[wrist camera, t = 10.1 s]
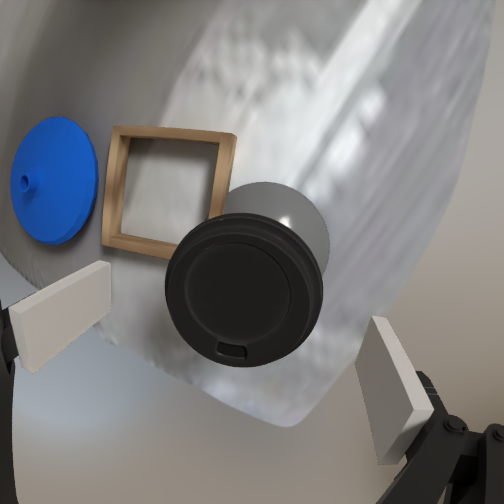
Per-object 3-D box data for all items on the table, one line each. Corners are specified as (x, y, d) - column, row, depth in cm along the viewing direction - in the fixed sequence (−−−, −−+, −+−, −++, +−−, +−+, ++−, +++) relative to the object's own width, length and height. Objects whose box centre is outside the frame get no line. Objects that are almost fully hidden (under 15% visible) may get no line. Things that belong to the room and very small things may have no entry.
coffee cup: (236, 303, 32) (195, 390, 18) (203, 219, 31) (129, 252, 16) (323, 276, 31) (345, 354, 16) (292, 186, 29) (291, 189, 15)
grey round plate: (211, 173, 31) (209, 172, 30) (340, 195, 29) (341, 195, 29) (196, 292, 34) (194, 295, 33) (313, 316, 32) (313, 319, 32)
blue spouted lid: (85, 95, 30) (49, 84, 24) (129, 204, 33) (93, 211, 26) (16, 163, 34) (-19, 164, 27) (50, 259, 36) (15, 272, 29)
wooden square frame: (125, 128, 31) (113, 125, 28) (237, 137, 29) (232, 133, 27) (113, 240, 34) (101, 244, 31) (218, 261, 33) (212, 268, 30)
